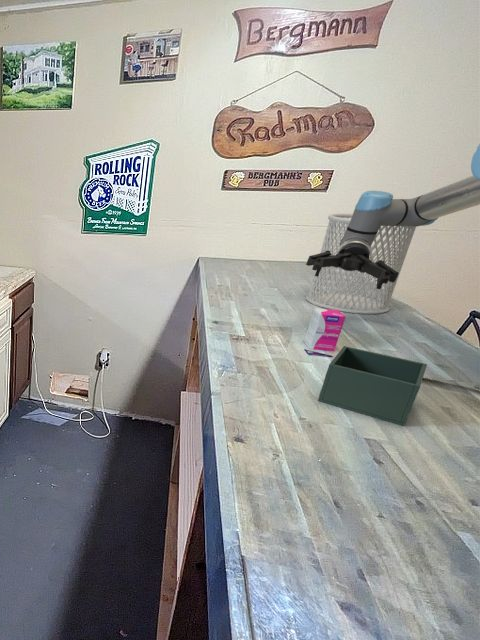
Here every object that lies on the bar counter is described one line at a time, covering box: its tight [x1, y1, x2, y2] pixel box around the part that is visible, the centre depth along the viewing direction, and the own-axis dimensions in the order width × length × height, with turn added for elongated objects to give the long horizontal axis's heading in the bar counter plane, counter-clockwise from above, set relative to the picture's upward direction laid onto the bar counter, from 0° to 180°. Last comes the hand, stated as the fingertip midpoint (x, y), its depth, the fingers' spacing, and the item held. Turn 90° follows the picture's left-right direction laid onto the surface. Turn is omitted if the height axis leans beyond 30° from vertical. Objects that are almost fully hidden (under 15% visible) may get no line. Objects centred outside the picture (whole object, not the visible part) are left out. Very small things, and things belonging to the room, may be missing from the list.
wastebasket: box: [305, 212, 417, 315], centre depth 158 cm, size 25×25×30 cm
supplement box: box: [304, 307, 346, 358], centre depth 120 cm, size 6×6×12 cm
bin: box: [317, 345, 428, 427], centre depth 96 cm, size 14×14×9 cm
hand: (348, 277), depth 117 cm, fingers open, 13 cm apart
